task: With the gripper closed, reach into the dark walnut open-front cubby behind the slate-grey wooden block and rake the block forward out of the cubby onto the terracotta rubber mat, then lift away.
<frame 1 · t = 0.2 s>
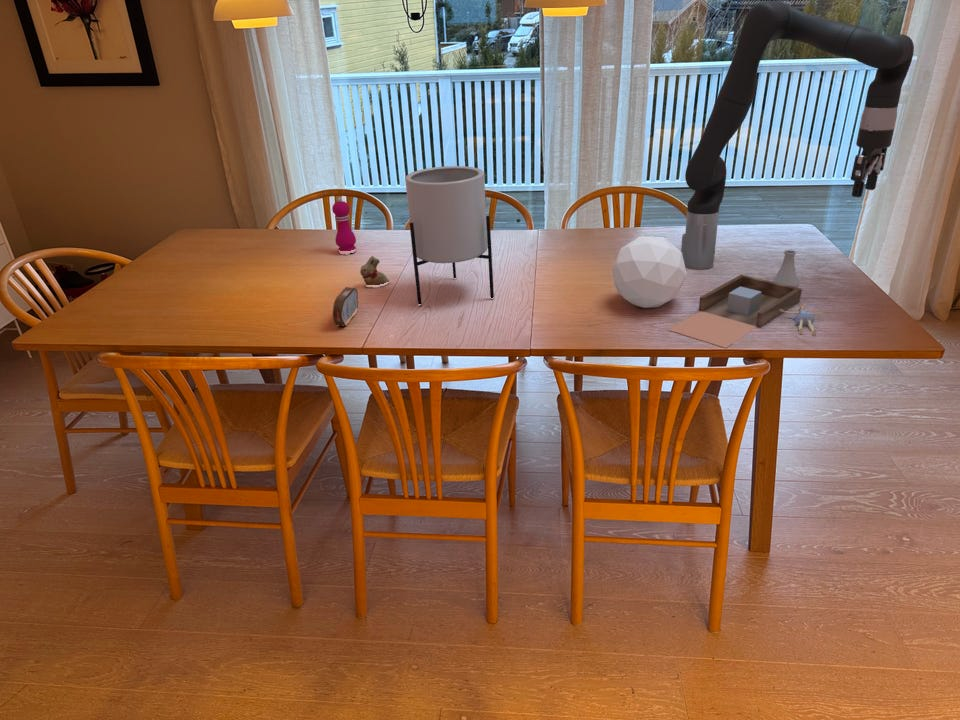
hand: (863, 193, 174), 29 cm above the table, fingers open, 8 cm apart
chocolate bunny: (376, 286, 217), on the table
tin: (348, 320, 194), on the table
pepper mill: (347, 252, 249), on the table
flask: (784, 285, 198), on the table
plant pot with stand: (457, 295, 206), on the table
slate block: (743, 309, 184), resting on walnut cubby
geometric orb: (647, 304, 192), on the table
terracotta mat: (712, 328, 175), on the table
walnut cubby: (748, 307, 186), on the table
fairy figurine: (803, 327, 174), on the table
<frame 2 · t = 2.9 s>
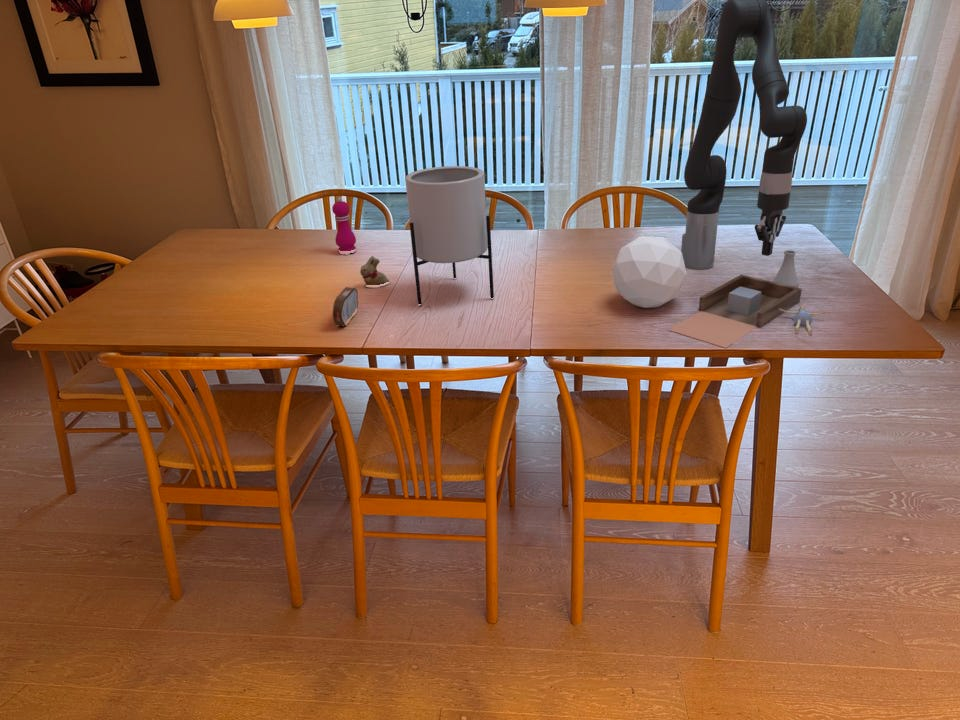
hand: (766, 254, 183), 13 cm above the table, fingers closed
nothing on the table moved.
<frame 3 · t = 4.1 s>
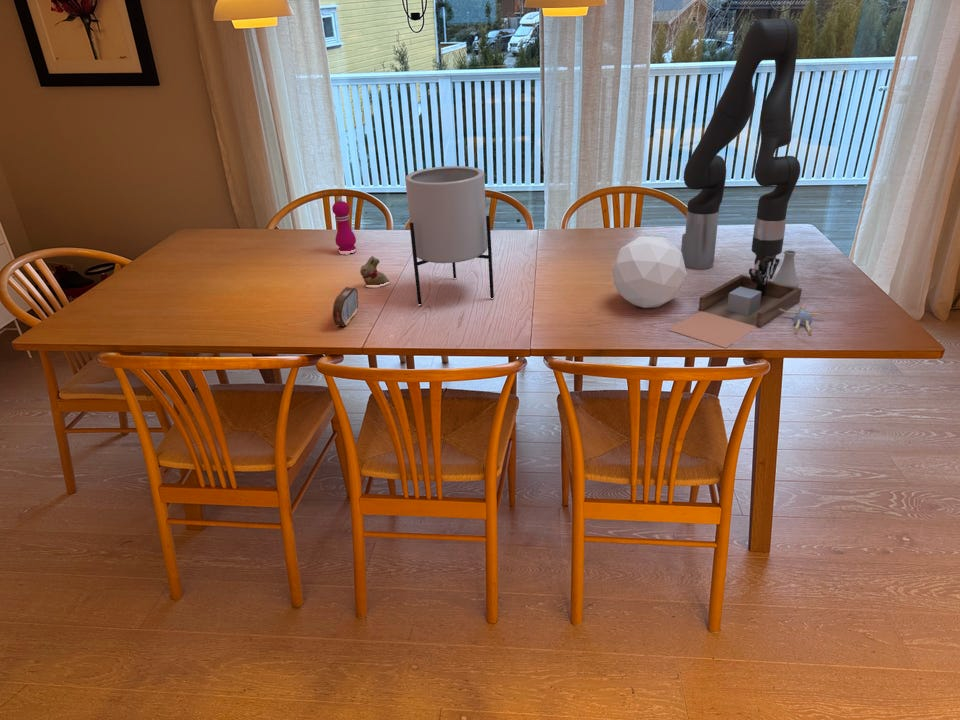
hand: (760, 296, 189), 1 cm above the table, fingers closed
nothing on the table moved.
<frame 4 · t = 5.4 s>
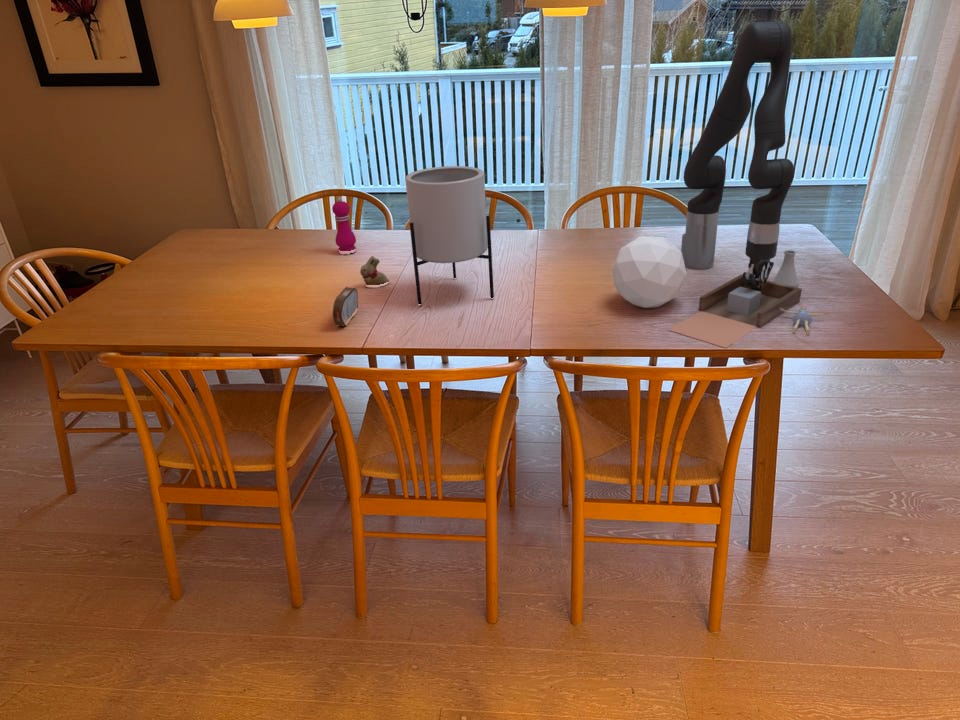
hand: (754, 299, 187), 1 cm above the table, fingers closed
slate block: (742, 309, 184), resting on walnut cubby, touching gripper
everything else where it was.
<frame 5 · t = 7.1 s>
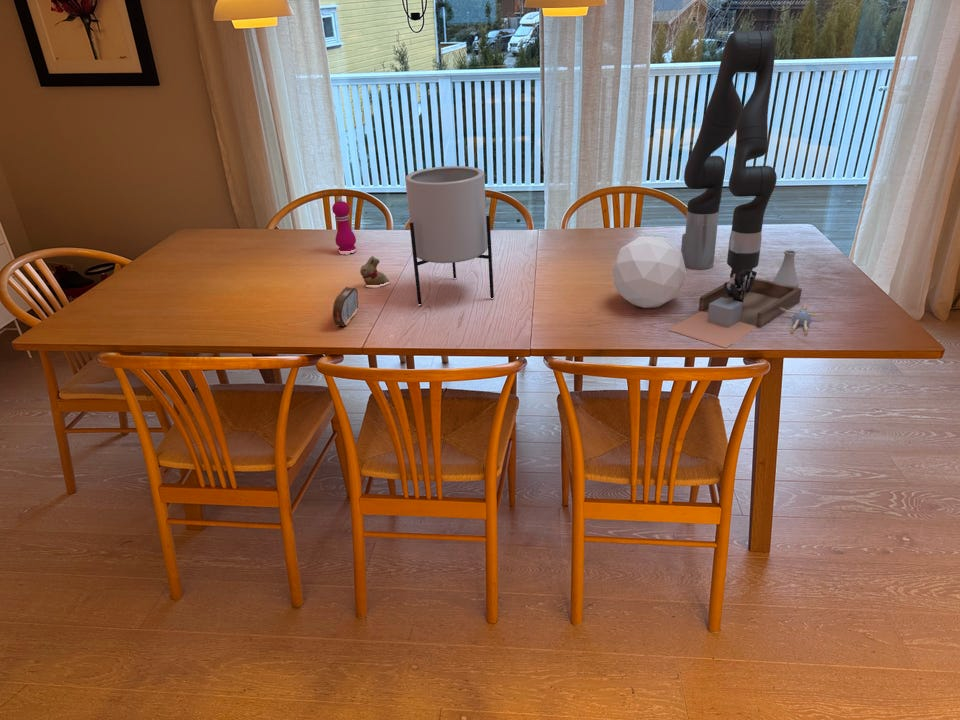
hand: (736, 310, 181), 1 cm above the table, fingers closed
slate block: (723, 321, 178), resting on terracotta mat, touching gripper
everything else where it was.
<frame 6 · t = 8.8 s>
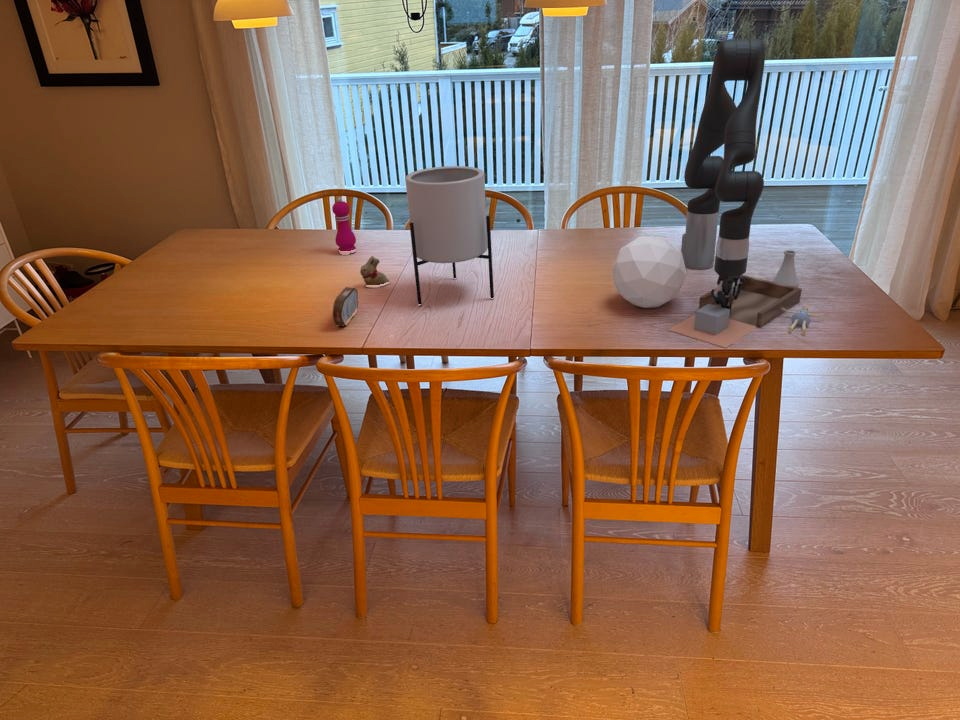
hand: (724, 317, 178), 1 cm above the table, fingers closed
slate block: (711, 328, 175), resting on terracotta mat, touching gripper
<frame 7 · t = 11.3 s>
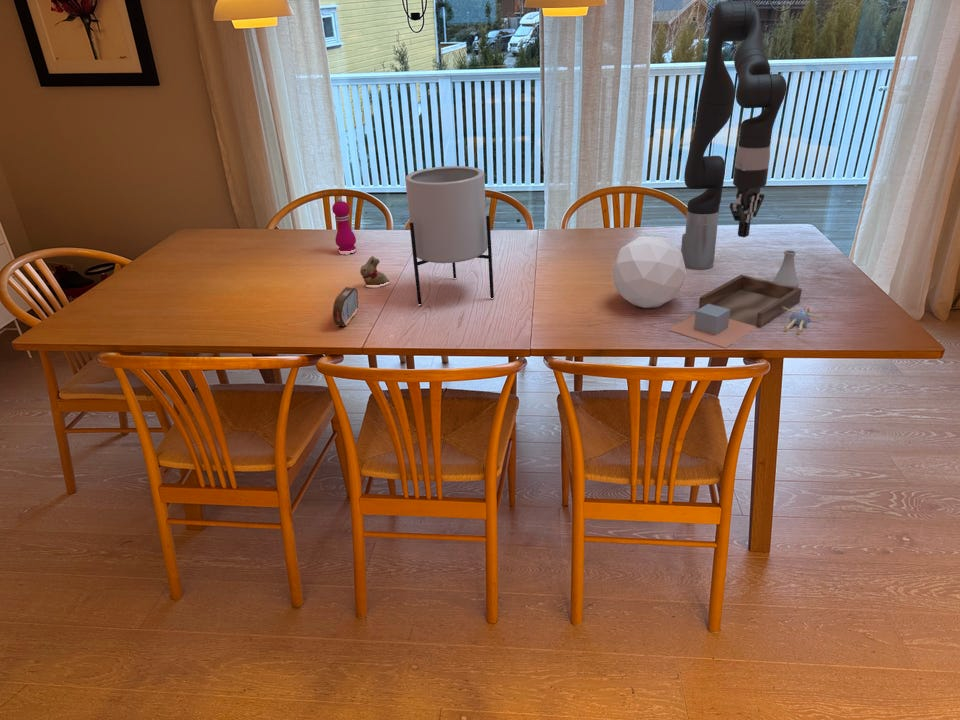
hand: (743, 236, 171), 22 cm above the table, fingers closed
slate block: (711, 328, 175), resting on terracotta mat
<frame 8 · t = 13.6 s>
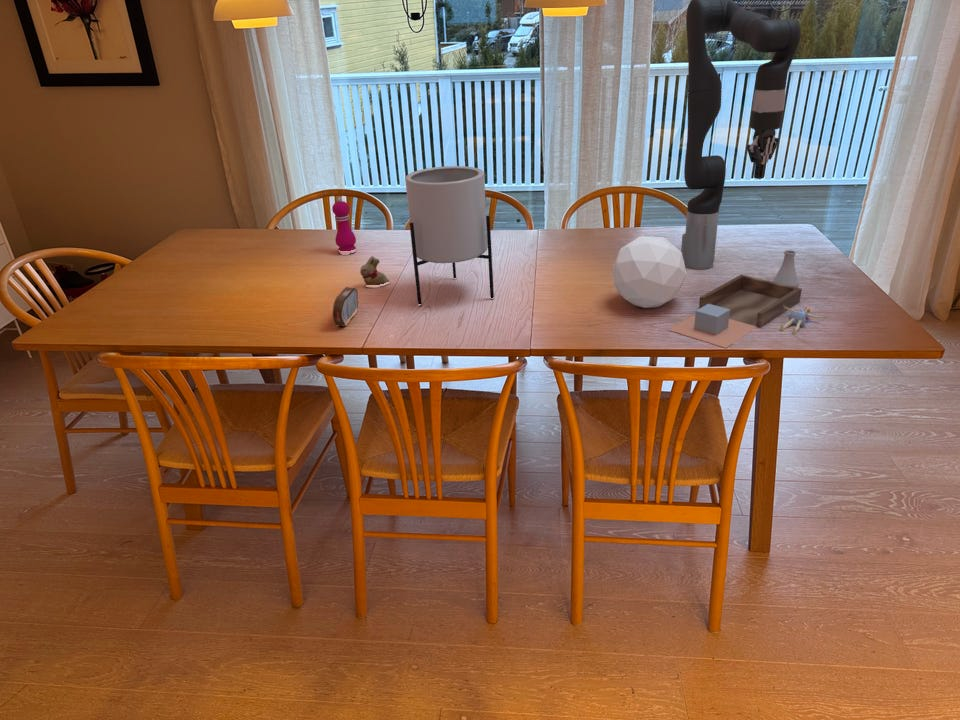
hand: (758, 178, 181), 32 cm above the table, fingers closed
at the end: slate block inside the target area (0.5 cm from its centre), resting on terracotta mat; slate block tilted 0° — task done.
